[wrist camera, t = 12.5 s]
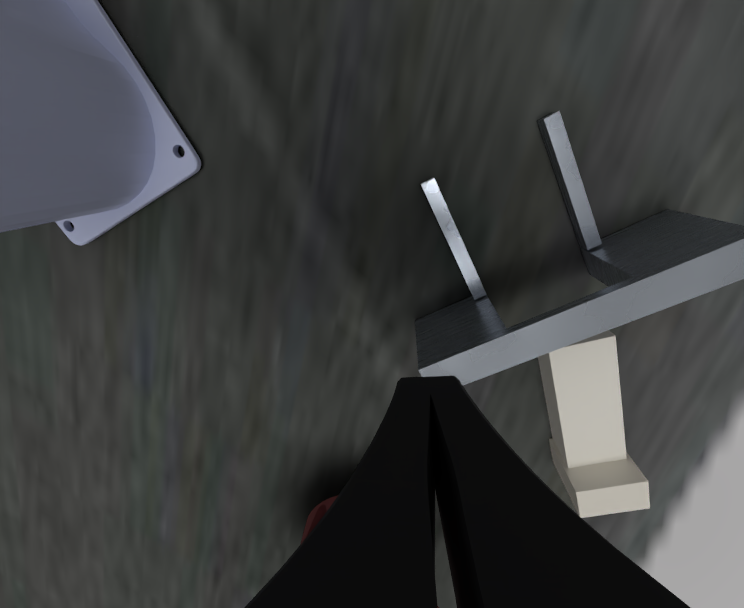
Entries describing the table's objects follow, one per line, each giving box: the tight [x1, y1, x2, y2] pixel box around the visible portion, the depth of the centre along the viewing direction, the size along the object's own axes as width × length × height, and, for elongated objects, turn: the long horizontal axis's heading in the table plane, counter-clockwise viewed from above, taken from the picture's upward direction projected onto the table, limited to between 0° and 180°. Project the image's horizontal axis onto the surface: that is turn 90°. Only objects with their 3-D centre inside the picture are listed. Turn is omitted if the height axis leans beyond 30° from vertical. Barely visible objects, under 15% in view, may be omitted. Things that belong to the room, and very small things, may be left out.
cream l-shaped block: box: [538, 330, 650, 518], centre depth 18 cm, size 10×3×4 cm, turn 18°
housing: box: [415, 111, 744, 385], centre depth 14 cm, size 7×12×5 cm, turn 118°
